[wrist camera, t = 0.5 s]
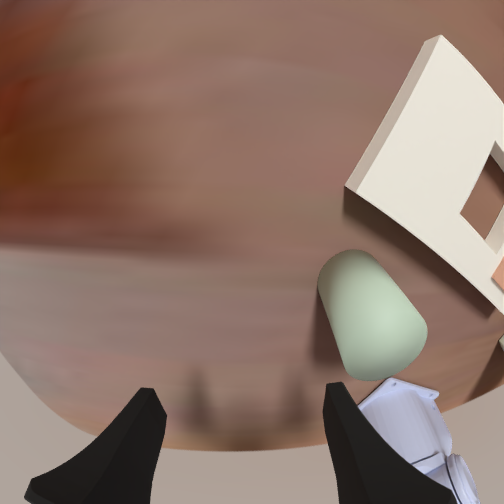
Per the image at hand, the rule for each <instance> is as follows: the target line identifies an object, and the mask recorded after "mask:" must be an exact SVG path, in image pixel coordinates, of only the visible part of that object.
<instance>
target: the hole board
mask: <svg viewBox="0 0 504 504" xmlns="http://www.w3.org/2000/svg"><path fill="white" fill-rule="evenodd" d="M489 154H491V156H492V157H493V158H494V160H495V161H496V162H497V164H498V165H499V166H500V168H501V169H502V171H503V172H504V104H503V103H502V101H501V100H500V99H499V97H498V96H497V95H496V93H495V92H494V91H493V90H492V88H491V87H490V86H489V85H488V83H487V82H486V81H485V80H484V79H483V77H482V76H481V75H480V74H479V73H478V72H477V71H476V69H475V68H474V67H473V66H472V65H471V64H470V63H469V62H468V61H467V60H466V58H465V57H464V56H463V55H462V54H461V53H460V52H459V51H458V50H457V49H456V48H455V47H454V46H453V45H452V44H451V43H450V42H449V41H447V40H446V39H445V38H444V37H443V36H442V35H439V36H436V37H434V38H431V39H429V40H426V41H425V42H424V44H423V46H422V48H421V50H420V52H419V54H418V56H417V58H416V60H415V62H414V64H413V66H412V68H411V70H410V71H409V73H408V75H407V77H406V79H405V81H404V83H403V85H402V86H401V88H400V90H399V92H398V94H397V96H396V98H395V99H394V101H393V103H392V105H391V107H390V108H389V110H388V112H387V114H386V116H385V117H384V119H383V121H382V123H381V124H380V126H379V128H378V130H377V131H376V133H375V135H374V137H373V138H372V140H371V142H370V144H369V145H368V147H367V149H366V150H365V152H364V154H363V155H362V157H361V159H360V161H359V162H358V164H357V166H356V167H355V169H354V171H353V172H352V174H351V176H350V177H349V179H348V181H347V182H346V184H345V186H346V187H347V188H349V189H350V190H352V191H353V192H355V193H356V194H358V195H359V196H361V197H362V198H364V199H365V200H367V201H368V202H369V203H371V204H372V205H374V206H375V207H377V208H378V209H379V210H381V211H382V212H384V213H385V214H386V215H388V216H389V217H391V218H392V219H393V220H395V221H396V222H397V223H399V224H400V225H401V226H403V227H404V228H405V229H407V230H408V231H409V232H411V233H412V234H413V235H414V236H416V237H417V238H418V239H420V240H421V241H422V242H423V243H425V244H426V245H427V246H428V247H430V248H431V249H432V250H433V251H434V252H436V253H437V254H438V255H439V256H440V257H442V258H443V259H444V260H445V261H446V262H448V263H449V264H450V265H451V266H452V267H453V268H455V269H456V270H457V271H458V272H459V273H460V274H461V275H463V276H464V277H465V278H466V279H467V280H468V281H469V282H470V283H471V284H472V285H474V286H475V287H476V288H477V289H478V290H479V291H480V292H481V293H482V294H483V295H484V296H485V297H486V298H487V299H488V300H489V301H490V302H491V303H492V304H493V305H494V306H495V307H496V308H497V309H498V310H499V311H500V312H501V313H502V314H503V315H504V205H503V207H502V209H501V211H500V213H499V215H498V217H497V219H496V221H495V223H494V225H493V226H492V228H491V230H490V232H489V234H488V235H487V237H486V239H485V241H484V240H483V239H482V237H481V236H480V235H479V234H478V233H477V232H476V231H475V230H474V228H473V227H472V226H471V225H470V224H469V223H468V222H467V221H466V220H465V219H464V218H463V217H462V216H461V215H460V214H459V213H460V211H461V210H462V208H463V206H464V204H465V202H466V200H467V199H468V197H469V195H470V193H471V191H472V189H473V187H474V185H475V183H476V181H477V179H478V177H479V175H480V173H481V171H482V169H483V167H484V165H485V163H486V160H487V158H488V156H489Z"/></svg>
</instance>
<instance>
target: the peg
mask: <svg viewBox="0 0 504 504" xmlns="http://www.w3.org/2000/svg"><path fill="white" fill-rule="evenodd" d="M318 291H319V294H320V297H321V300H322V303H323V305H324V308H325V311H326V314H327V317H328V320H329V322H330V325H331V328H332V331H333V334H334V337H335V340H336V343H337V346H338V349H339V352H340V355H341V358H342V361H343V364H344V367H345V369H346V371H347V373H348V374H349V375H350V376H352V377H353V378H355V379H358V380H362V381H377V380H381V379H385V378H388V377H390V376H393V375H395V374H397V373H398V372H400V371H402V370H403V369H405V368H406V367H407V366H408V365H410V364H411V363H412V362H413V361H414V360H415V358H416V357H417V356H418V355H419V353H420V352H421V350H422V349H423V347H424V344H425V342H426V338H427V326H426V323H425V321H424V319H423V318H422V317H421V315H420V314H419V313H418V311H417V310H416V309H415V307H414V306H413V305H412V304H411V302H410V301H409V300H408V298H407V297H406V296H405V295H404V293H403V292H402V291H401V290H400V288H399V287H398V286H397V285H396V283H395V282H394V281H393V280H392V278H391V277H390V276H389V275H388V274H387V272H386V271H385V270H384V269H383V268H382V266H381V265H380V264H379V263H378V262H377V260H376V259H375V258H374V257H373V256H372V255H371V254H369V253H367V252H365V251H362V250H346V251H343V252H340V253H338V254H336V255H335V256H333V257H332V258H331V259H329V260H328V261H327V263H326V264H325V265H324V266H323V268H322V270H321V272H320V274H319V277H318Z"/></svg>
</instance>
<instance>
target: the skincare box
mask: <svg viewBox="0 0 504 504" xmlns="http://www.w3.org/2000/svg"><path fill="white" fill-rule="evenodd" d="M499 342H500V345H501V347H502V349H503V350H504V335H503V336H502V337H501V339H500V340H499Z"/></svg>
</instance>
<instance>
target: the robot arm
mask: <svg viewBox="0 0 504 504" xmlns="http://www.w3.org/2000/svg"><path fill="white" fill-rule="evenodd" d="M438 396H439V392H438V391H435V390H432V389H428V388H425V387H421V386H418V385H415V384H411V383H408V382H405V381H402V380H398V379H395V378H388V379H387V380H386V381H384V382H383V383H382V384H381V385H380V386H379V387H378V388H377V389H376V390H375V391H374V392H373V393H372V394H370V395H369V396H368V397H367V398H366V399H365V400H364V401H363V402H361V403H360V404H359V405H358V406H357V405H356V403H355V402H354V400H353V399H352V397H351V396H350V394H349V392H348V391H347V389H346V387H345V385H344V383H342V382H336V383H329V384H326V392H325V399H324V406H323V419H324V427H325V434H326V438H327V442H328V446H329V450H330V454H331V458H332V461H333V466H334V470H335V474H336V480H337V487H338V496H339V504H480V501H479V498H478V494H477V489H476V486H475V483H474V480H473V477H472V475H471V473H470V470H469V468H468V466H467V464H466V463H465V461H464V459H463V458H462V457H461V456H460V455H455V454H451V455H450V453H451V449H452V438H451V435H450V432H449V430H448V428H447V426H446V424H445V422H444V420H443V418H442V415H441V413H440V411H439V409H438V407H437V405H436V403H435V401H434V399H436V398H437V397H438ZM166 419H167V414H166V412H165V411H164V409H163V407H162V405H161V403H160V401H159V399H158V397H157V395H156V393H155V391H154V389H153V388H140V389H139V390H138V392H137V393H136V394H135V395H134V396H133V398H132V399H131V400H130V401H129V403H128V404H127V405H126V406H125V407H124V409H123V410H122V411H121V412H120V413H119V414H118V416H117V417H116V418H115V419H114V420H113V421H112V423H111V424H110V425H109V426H108V427H107V428H106V429H105V430H104V431H103V432H102V433H101V434H100V435H99V436H98V437H97V438H96V439H95V440H94V441H93V442H92V443H91V444H90V445H88V446H87V447H86V448H85V449H83V450H82V451H81V452H80V453H78V454H77V455H76V456H74V457H73V458H71V459H70V460H68V461H67V462H65V463H63V464H62V465H60V466H58V467H57V468H55V469H53V470H51V471H49V472H47V473H44V474H42V475H40V476H37V477H35V478H32V479H31V481H30V484H29V486H28V488H27V491H26V493H25V496H24V498H25V500H27V501H28V502H30V503H31V504H150V496H151V488H152V481H153V476H154V471H155V468H156V464H157V460H158V457H159V453H160V450H161V446H162V442H163V438H164V434H165V428H166Z"/></svg>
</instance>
